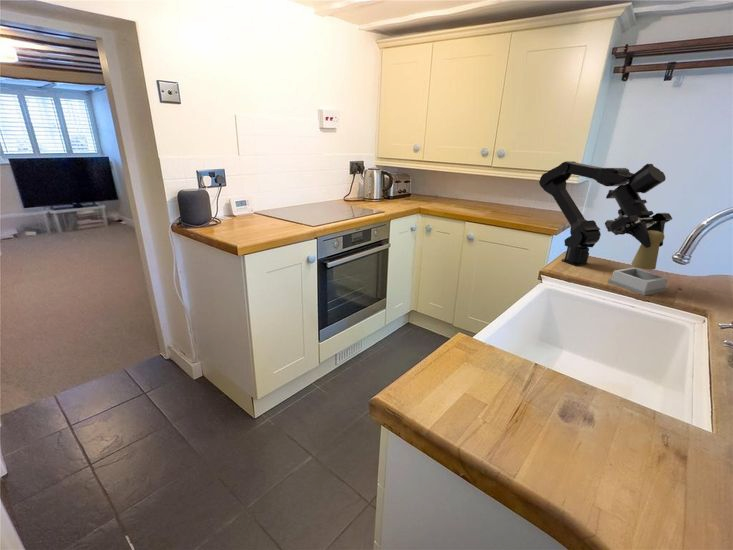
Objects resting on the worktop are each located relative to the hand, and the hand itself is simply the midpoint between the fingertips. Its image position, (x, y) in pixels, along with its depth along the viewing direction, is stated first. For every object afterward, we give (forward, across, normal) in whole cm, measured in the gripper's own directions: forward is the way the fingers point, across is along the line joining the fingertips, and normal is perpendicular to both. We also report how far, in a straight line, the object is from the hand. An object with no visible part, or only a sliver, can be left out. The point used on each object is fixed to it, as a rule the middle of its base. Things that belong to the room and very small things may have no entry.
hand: (654, 246), depth 104 cm
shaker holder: (+9, 0, -10) cm, 13 cm away
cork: (+4, 0, -6) cm, 7 cm away
